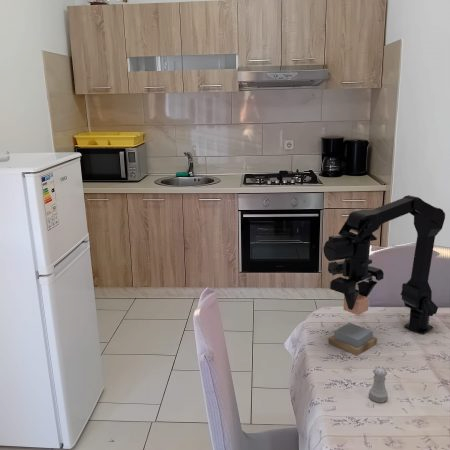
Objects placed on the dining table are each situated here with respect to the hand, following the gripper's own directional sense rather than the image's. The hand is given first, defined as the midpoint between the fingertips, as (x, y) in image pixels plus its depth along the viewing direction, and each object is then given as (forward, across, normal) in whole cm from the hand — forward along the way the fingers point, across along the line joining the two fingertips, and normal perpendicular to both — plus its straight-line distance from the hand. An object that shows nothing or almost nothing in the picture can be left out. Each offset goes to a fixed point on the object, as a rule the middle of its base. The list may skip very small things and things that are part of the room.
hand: (355, 306), depth 137 cm
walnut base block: (+13, 0, 0) cm, 13 cm away
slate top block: (+10, 0, 0) cm, 10 cm away
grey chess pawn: (+12, +18, +20) cm, 29 cm away
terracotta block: (+1, 0, 0) cm, 1 cm away
